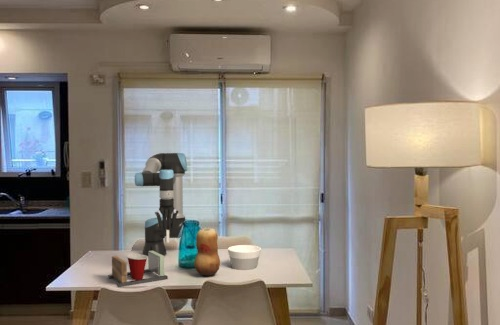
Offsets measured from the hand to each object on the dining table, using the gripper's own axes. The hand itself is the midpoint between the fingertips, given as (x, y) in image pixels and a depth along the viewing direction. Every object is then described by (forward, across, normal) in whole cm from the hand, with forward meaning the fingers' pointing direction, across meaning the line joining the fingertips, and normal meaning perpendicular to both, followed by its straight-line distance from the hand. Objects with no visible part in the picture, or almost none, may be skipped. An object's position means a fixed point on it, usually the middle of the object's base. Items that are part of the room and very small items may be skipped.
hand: (166, 241), depth 253 cm
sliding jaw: (+16, -6, 0) cm, 17 cm away
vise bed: (+17, -16, 0) cm, 24 cm away
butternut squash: (+18, +17, -15) cm, 28 cm away
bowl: (+18, +43, -11) cm, 47 cm away
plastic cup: (+18, -16, 0) cm, 24 cm away
